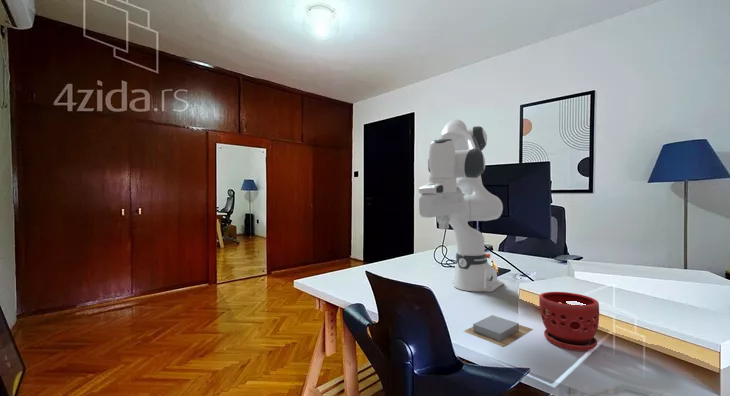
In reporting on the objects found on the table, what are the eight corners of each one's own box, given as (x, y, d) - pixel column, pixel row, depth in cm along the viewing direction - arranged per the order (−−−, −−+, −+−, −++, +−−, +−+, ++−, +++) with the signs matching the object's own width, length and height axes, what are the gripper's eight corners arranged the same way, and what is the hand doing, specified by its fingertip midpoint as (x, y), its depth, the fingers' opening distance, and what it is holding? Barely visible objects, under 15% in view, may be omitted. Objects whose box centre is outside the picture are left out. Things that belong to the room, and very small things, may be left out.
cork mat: (493, 318, 98) (493, 316, 98) (533, 331, 89) (533, 329, 89) (463, 333, 88) (463, 331, 88) (503, 349, 79) (503, 346, 79)
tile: (492, 315, 94) (473, 324, 88) (518, 323, 88) (500, 333, 82) (492, 322, 94) (473, 331, 88) (518, 330, 88) (500, 341, 82)
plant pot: (610, 346, 79) (609, 299, 79) (581, 361, 73) (580, 310, 72) (558, 328, 90) (557, 286, 90) (529, 338, 84) (528, 294, 84)
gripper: (453, 187, 112) (454, 225, 113) (415, 188, 99) (416, 231, 100) (469, 186, 107) (469, 226, 108) (430, 188, 94) (431, 233, 95)
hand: (443, 228), depth 104 cm, fingers closed
